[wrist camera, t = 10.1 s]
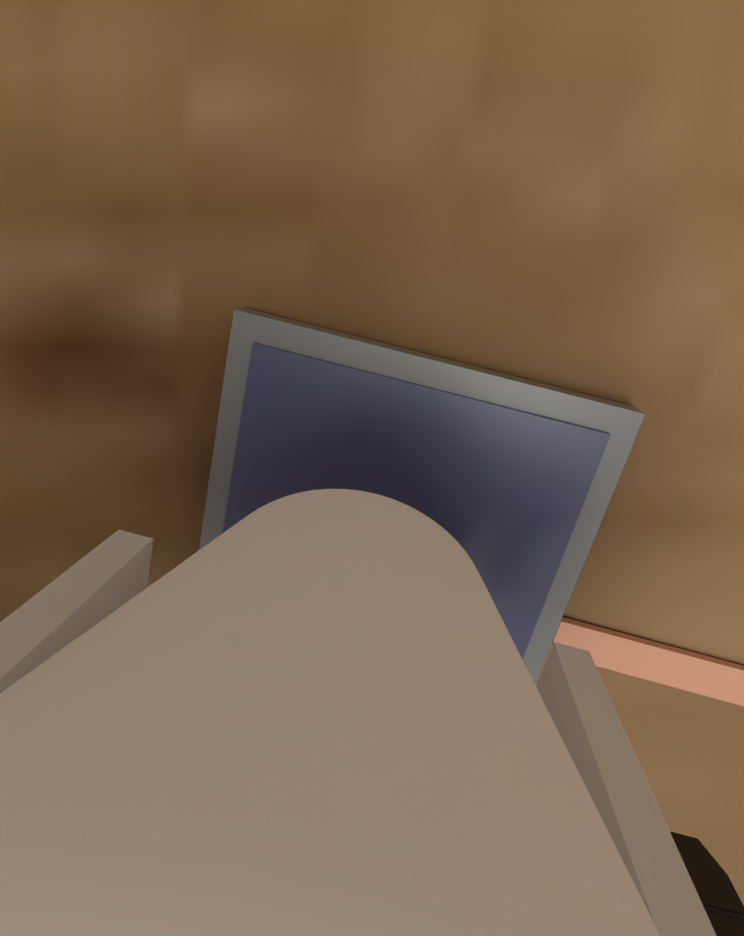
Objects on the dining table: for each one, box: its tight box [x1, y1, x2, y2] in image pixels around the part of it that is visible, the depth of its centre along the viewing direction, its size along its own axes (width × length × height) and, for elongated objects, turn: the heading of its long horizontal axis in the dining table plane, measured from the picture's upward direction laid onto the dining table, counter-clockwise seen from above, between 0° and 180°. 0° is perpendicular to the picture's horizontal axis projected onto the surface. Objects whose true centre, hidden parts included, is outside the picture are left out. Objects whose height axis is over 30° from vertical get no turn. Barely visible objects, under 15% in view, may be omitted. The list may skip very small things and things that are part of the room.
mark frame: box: [535, 617, 744, 706], centre depth 19 cm, size 15×15×1 cm
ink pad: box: [199, 308, 645, 684], centre depth 17 cm, size 11×11×1 cm
